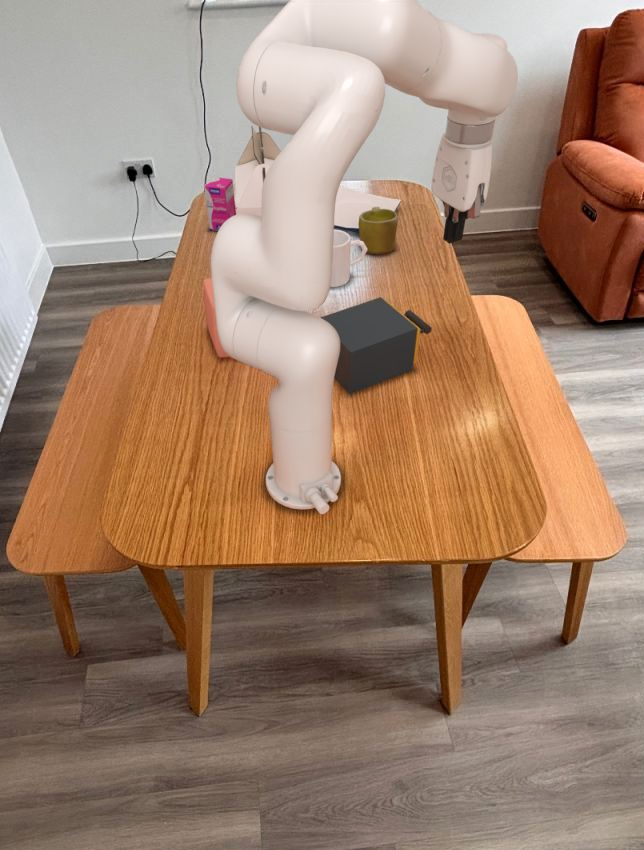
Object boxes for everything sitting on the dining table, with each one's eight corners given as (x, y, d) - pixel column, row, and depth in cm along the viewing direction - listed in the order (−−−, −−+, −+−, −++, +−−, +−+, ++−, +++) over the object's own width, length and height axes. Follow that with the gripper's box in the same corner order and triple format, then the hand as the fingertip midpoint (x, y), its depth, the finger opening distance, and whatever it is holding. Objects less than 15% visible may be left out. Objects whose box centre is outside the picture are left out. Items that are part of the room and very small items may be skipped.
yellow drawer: (402, 327, 134) (406, 294, 129) (435, 355, 128) (440, 321, 122) (328, 354, 129) (328, 320, 123) (358, 385, 123) (359, 350, 117)
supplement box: (209, 231, 167) (202, 185, 158) (217, 220, 170) (211, 175, 162) (229, 233, 165) (224, 188, 157) (238, 223, 169) (233, 178, 160)
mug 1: (367, 286, 147) (369, 244, 140) (315, 288, 147) (315, 247, 140) (364, 268, 152) (366, 227, 145) (314, 270, 152) (313, 229, 145)
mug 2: (402, 253, 153) (392, 209, 147) (360, 263, 156) (350, 221, 151) (406, 238, 162) (398, 197, 157) (367, 248, 166) (358, 208, 160)
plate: (405, 209, 172) (406, 199, 170) (369, 241, 161) (369, 231, 159) (339, 193, 179) (339, 183, 177) (300, 223, 168) (300, 213, 166)
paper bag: (242, 238, 164) (229, 116, 142) (293, 234, 164) (288, 112, 143) (243, 284, 149) (229, 155, 128) (300, 280, 150) (295, 151, 128)
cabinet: (377, 338, 134) (380, 296, 126) (412, 370, 126) (417, 328, 119) (317, 360, 129) (316, 318, 122) (349, 394, 122) (351, 352, 115)
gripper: (423, 120, 106) (412, 228, 120) (480, 150, 98) (461, 263, 112) (459, 111, 109) (444, 218, 123) (518, 139, 100) (495, 251, 114)
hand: (452, 239), depth 117 cm, fingers closed
